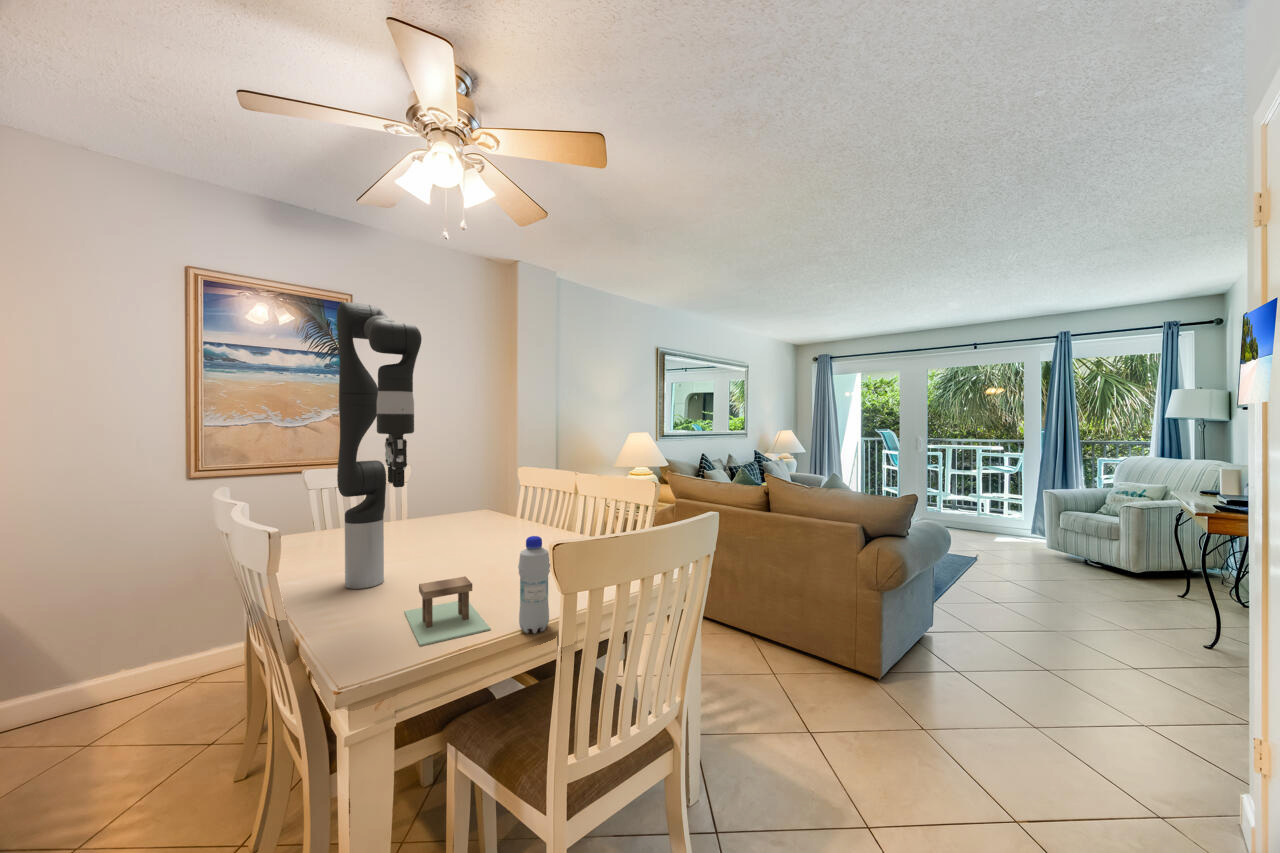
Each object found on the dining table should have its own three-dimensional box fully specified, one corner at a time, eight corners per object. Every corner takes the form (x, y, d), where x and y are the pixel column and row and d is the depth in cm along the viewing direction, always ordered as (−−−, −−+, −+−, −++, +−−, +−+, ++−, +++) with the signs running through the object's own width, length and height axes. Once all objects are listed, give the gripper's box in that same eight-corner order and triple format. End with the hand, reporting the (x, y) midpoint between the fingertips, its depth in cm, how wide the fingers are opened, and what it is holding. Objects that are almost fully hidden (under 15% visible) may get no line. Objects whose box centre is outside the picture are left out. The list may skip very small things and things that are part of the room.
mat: (404, 612, 115) (404, 611, 115) (466, 600, 122) (466, 599, 122) (419, 646, 98) (419, 644, 98) (490, 630, 106) (490, 628, 106)
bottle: (518, 637, 102) (518, 541, 102) (517, 624, 109) (517, 533, 108) (551, 634, 104) (551, 539, 104) (548, 621, 110) (548, 531, 110)
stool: (465, 610, 115) (465, 576, 115) (472, 619, 110) (472, 583, 110) (418, 620, 110) (418, 584, 110) (423, 629, 105) (423, 592, 105)
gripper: (419, 412, 107) (419, 487, 107) (408, 412, 119) (409, 480, 119) (380, 411, 103) (380, 490, 103) (373, 412, 115) (373, 482, 115)
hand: (395, 484), depth 111 cm, fingers open, 8 cm apart
